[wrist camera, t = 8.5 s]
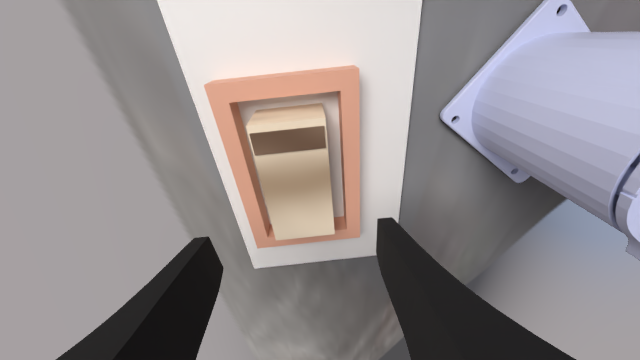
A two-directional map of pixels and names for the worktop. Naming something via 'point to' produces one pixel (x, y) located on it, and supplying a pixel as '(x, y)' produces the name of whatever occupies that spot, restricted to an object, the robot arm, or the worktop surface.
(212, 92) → the terracotta frame
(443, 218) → the worktop surface
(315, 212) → the maple block
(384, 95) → the white mat
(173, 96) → the worktop surface
